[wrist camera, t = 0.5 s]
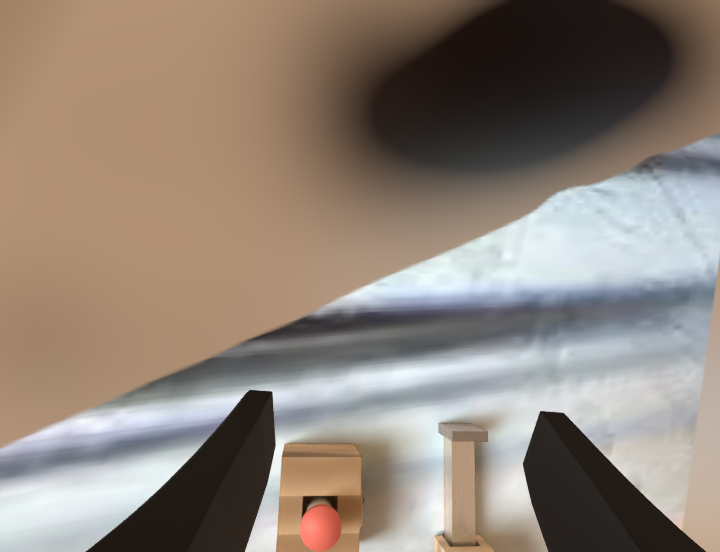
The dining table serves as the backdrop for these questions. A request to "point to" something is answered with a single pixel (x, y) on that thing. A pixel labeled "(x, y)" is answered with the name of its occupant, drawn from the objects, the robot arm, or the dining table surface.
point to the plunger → (320, 525)
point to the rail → (460, 482)
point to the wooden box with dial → (320, 492)
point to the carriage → (442, 547)
